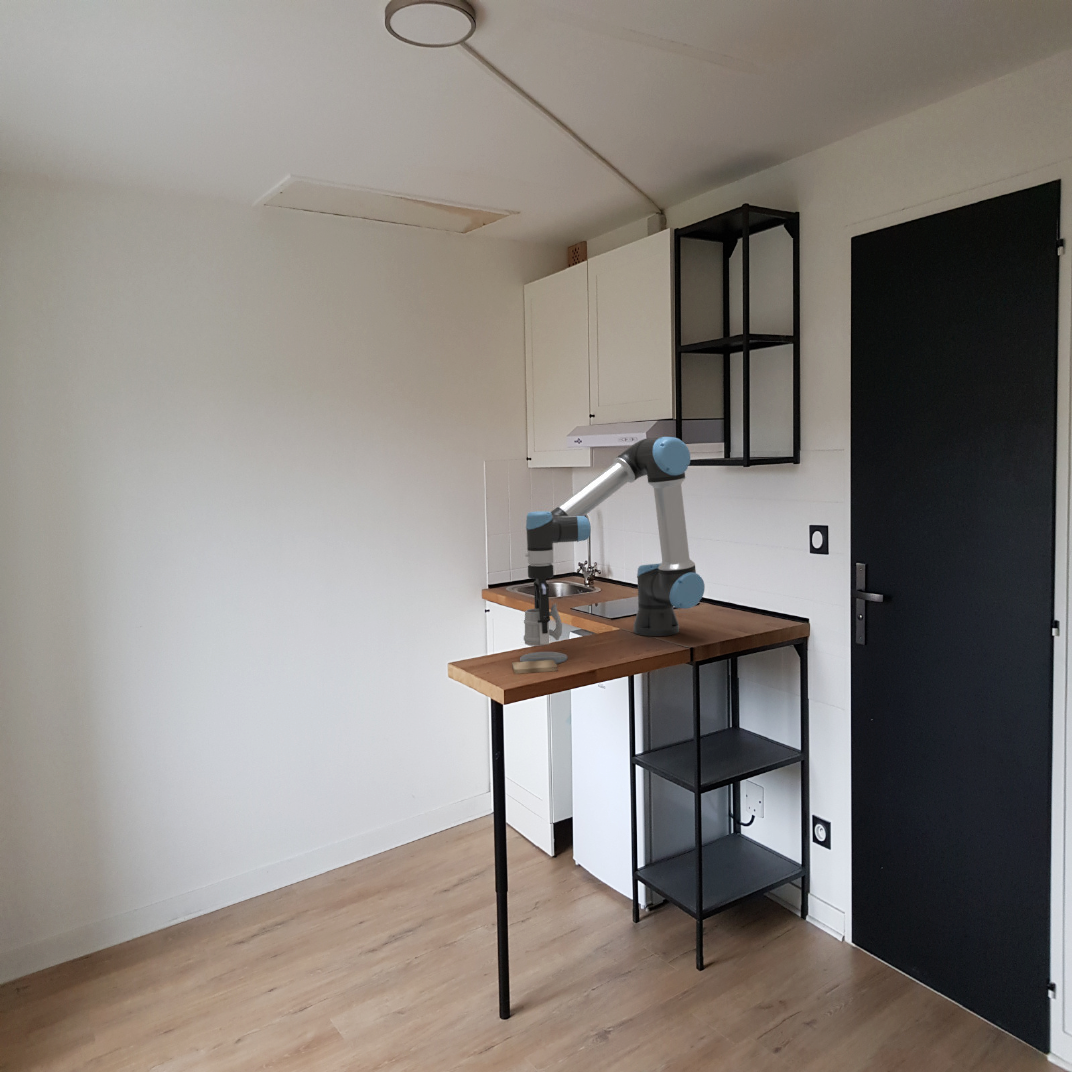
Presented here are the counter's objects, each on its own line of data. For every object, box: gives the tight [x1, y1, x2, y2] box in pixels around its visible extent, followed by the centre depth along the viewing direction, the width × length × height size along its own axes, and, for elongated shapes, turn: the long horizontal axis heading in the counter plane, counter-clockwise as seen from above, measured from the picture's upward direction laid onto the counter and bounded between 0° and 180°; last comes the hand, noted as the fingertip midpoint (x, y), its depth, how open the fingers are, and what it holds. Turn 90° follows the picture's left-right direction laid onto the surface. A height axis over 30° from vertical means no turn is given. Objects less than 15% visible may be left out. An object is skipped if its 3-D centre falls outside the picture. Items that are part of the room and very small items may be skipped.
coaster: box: [519, 651, 568, 665], centre depth 237 cm, size 14×14×1 cm
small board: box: [511, 660, 559, 675], centre depth 227 cm, size 12×8×1 cm, turn 97°
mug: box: [523, 603, 563, 647], centre depth 235 cm, size 8×12×12 cm, turn 73°
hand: (542, 640), depth 237 cm, fingers closed on mug, 8 cm apart
